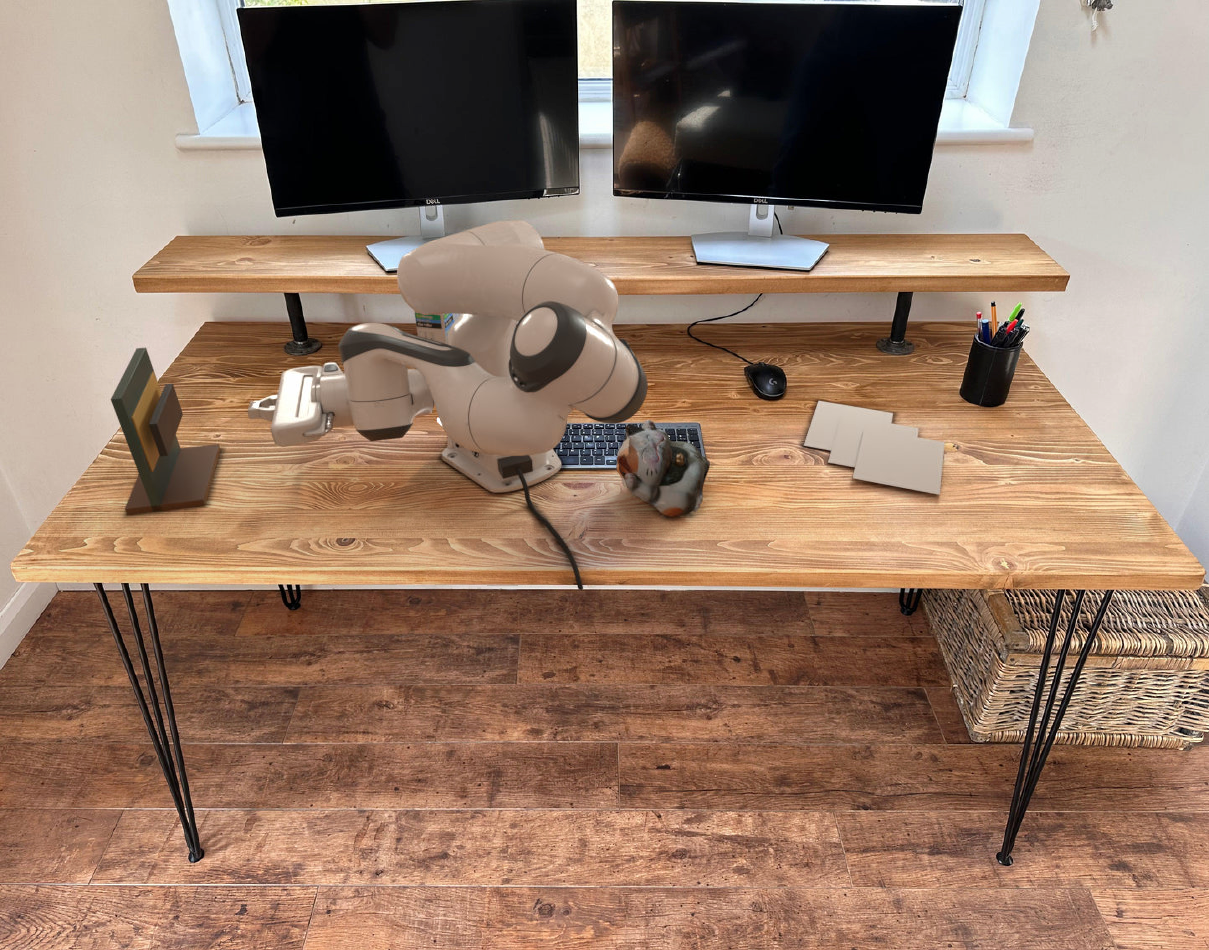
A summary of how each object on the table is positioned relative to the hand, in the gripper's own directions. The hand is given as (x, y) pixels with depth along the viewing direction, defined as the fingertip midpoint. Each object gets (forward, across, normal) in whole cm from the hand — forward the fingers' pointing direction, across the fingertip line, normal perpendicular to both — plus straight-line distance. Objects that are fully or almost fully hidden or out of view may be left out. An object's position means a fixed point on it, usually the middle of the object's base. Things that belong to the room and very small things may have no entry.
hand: (249, 410), depth 145 cm
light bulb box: (-32, +43, -12) cm, 55 cm away
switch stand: (+15, 0, -12) cm, 19 cm away
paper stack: (-105, -15, -12) cm, 107 cm away
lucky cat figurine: (-65, -22, -12) cm, 70 cm away
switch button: (+13, 0, -3) cm, 13 cm away
